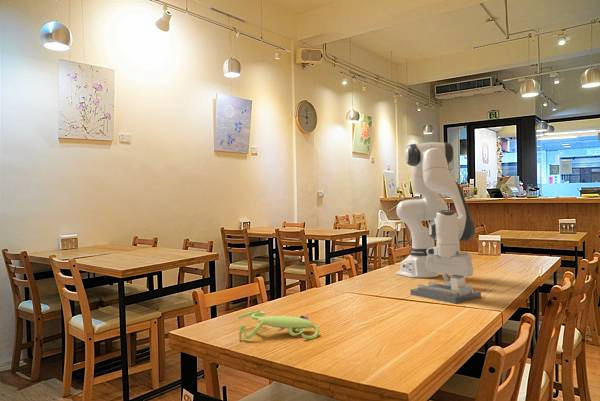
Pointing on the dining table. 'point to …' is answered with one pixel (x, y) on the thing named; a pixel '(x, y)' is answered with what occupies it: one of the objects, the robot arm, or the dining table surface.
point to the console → (446, 292)
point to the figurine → (279, 324)
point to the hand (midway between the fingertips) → (449, 285)
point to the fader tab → (457, 282)
